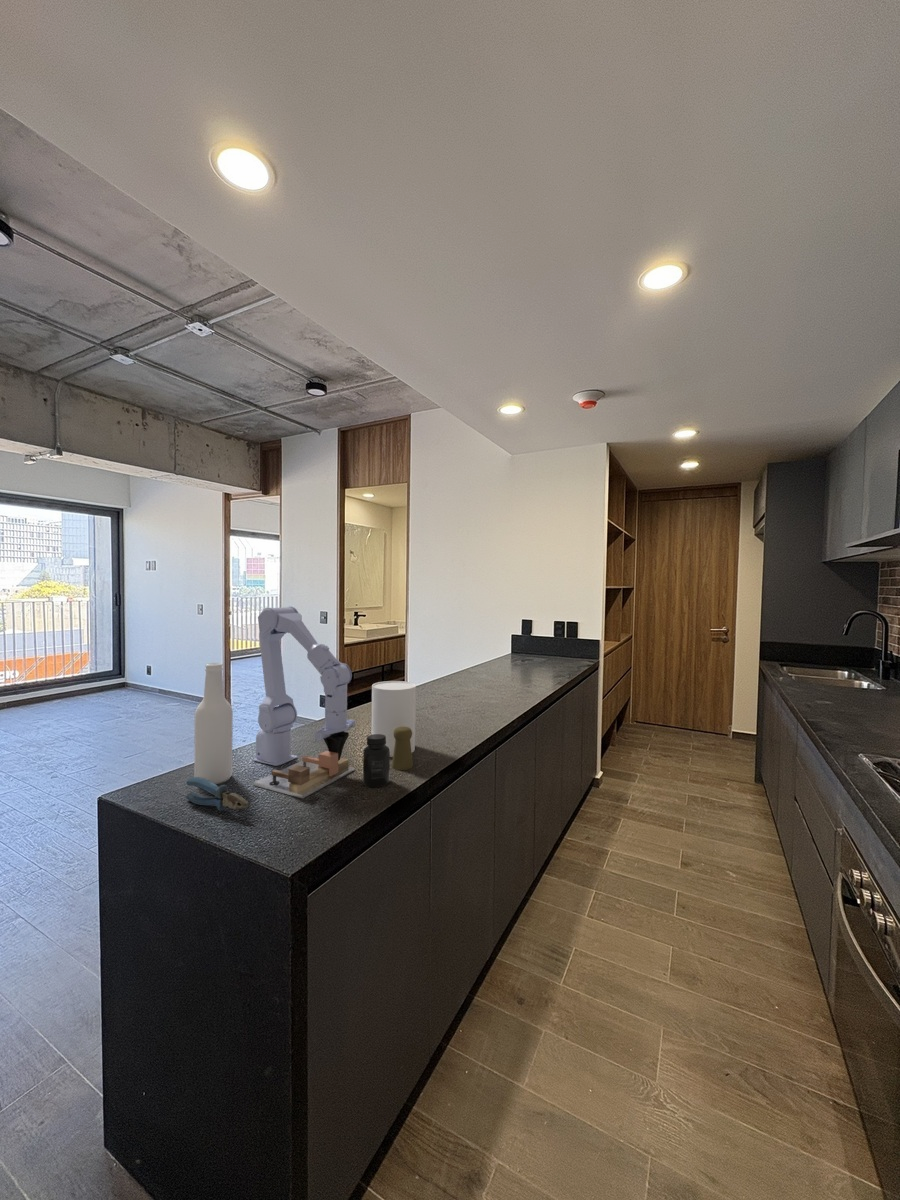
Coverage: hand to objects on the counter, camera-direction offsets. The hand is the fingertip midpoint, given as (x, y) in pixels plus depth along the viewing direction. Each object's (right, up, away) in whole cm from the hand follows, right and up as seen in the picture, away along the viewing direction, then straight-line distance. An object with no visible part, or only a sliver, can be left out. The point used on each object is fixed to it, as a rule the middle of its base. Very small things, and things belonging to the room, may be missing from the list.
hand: (335, 760), depth 131 cm
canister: (+13, -4, +21) cm, 25 cm away
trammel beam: (-5, -3, -4) cm, 7 cm away
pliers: (-22, -4, -22) cm, 31 cm away
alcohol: (-30, -4, -5) cm, 31 cm away
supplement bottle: (+12, -4, -5) cm, 14 cm away
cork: (+17, -4, +6) cm, 19 cm away
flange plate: (-7, -4, -3) cm, 9 cm away
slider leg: (-4, -2, -1) cm, 5 cm away
